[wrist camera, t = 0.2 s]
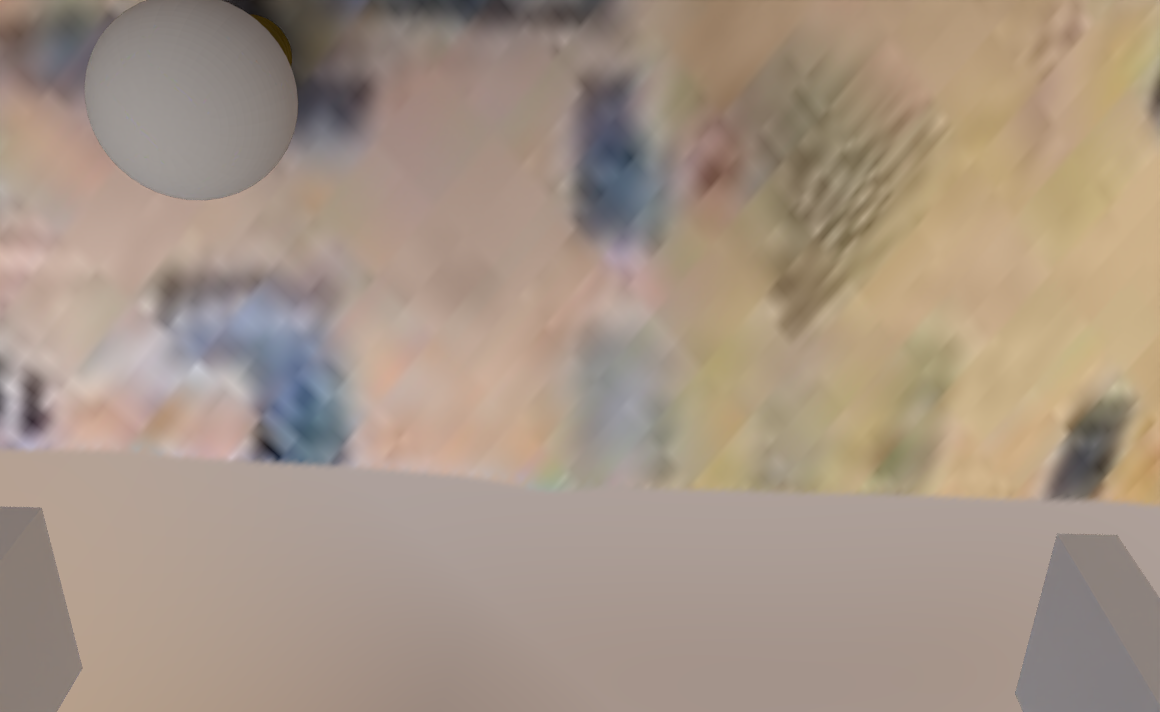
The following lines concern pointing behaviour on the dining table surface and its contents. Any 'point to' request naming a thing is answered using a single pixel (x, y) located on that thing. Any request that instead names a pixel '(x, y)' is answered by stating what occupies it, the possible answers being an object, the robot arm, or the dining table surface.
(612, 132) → the dining table surface
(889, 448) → the dining table surface
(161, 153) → the light bulb
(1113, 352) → the dining table surface
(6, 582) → the robot arm
